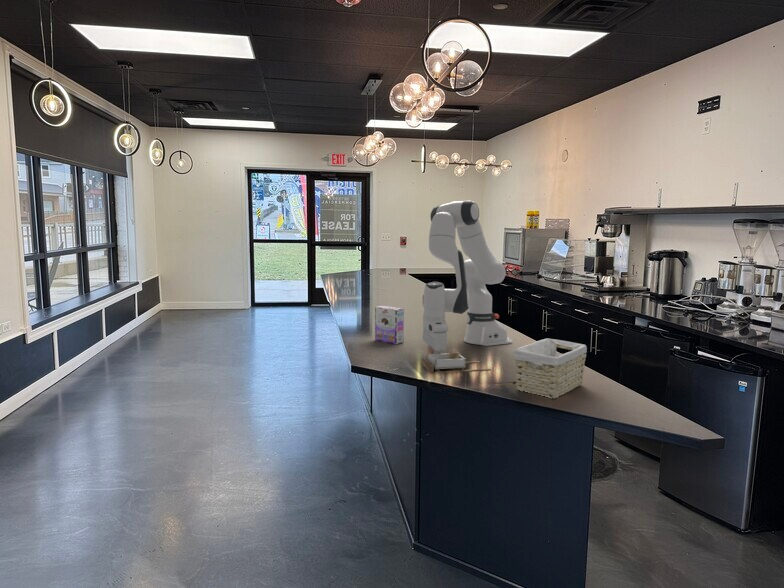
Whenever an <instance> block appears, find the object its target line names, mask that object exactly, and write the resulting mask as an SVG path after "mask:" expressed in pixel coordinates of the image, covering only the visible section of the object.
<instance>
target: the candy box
mask: <svg viewBox="0 0 784 588" xmlns="http://www.w3.org/2000/svg"><path fill="white" fill-rule="evenodd" d="M404 316H405V308H401V307H394V306H388V305H378V306H375V307H374V318H375V319H374V323H375V324H374V327H375V328H374V329H375V330H374V333H375V335H374V337H375V340H374V341H377V340H378V342H382V341H383V342H382V343H386V342H388V344H391V343H392V345H399V343H400V344H403V343H404V338H405V337H404V336H405V334H404V331H405V330H404V329H405V327H404V326H405V317H404Z"/></svg>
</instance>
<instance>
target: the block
mask: <svg viewBox="0 0 784 588" xmlns="http://www.w3.org/2000/svg"><path fill="white" fill-rule="evenodd" d="M428 354H434V349H433V348H432V349H428V348H427V351H426V355H427V356H426V359H427V360H428ZM439 354H441V352H439Z"/></svg>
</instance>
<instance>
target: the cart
mask: <svg viewBox="0 0 784 588" xmlns="http://www.w3.org/2000/svg"><path fill="white" fill-rule="evenodd" d="M427 360H428V361H429V362H430V363H431V364H433V365H434V370H435V371H436V372H439V371H441V370H446V369H447V370H448V369H458V370H463V368H466V366H467V364H466V362H467V361H466V360H467V359H466V358H465V356H462V355H461V354H460V353H459V359H449V352H448V353H446V352H445V353H440V354H428V359H427Z"/></svg>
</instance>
